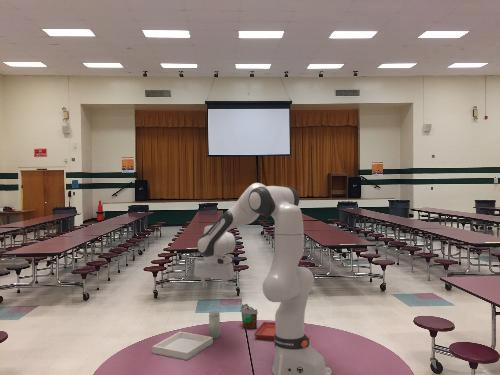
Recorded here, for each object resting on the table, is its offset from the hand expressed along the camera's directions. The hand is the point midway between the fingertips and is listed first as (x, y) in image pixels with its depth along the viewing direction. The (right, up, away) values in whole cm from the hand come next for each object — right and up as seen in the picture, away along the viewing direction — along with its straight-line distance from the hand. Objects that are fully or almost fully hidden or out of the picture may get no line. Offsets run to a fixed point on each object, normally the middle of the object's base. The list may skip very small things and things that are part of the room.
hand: (213, 287), depth 203 cm
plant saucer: (+30, -23, +1) cm, 38 cm away
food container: (+16, -23, +13) cm, 31 cm away
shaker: (0, -23, 0) cm, 23 cm away
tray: (-12, -24, -14) cm, 30 cm away
